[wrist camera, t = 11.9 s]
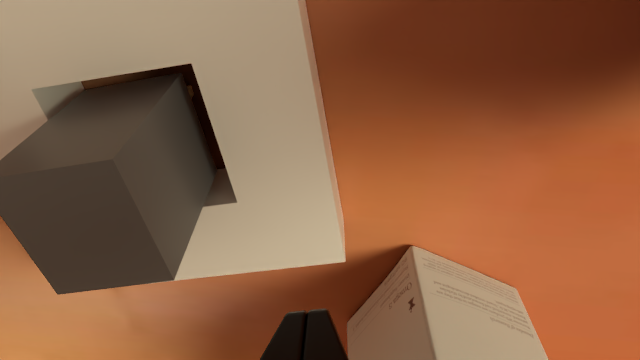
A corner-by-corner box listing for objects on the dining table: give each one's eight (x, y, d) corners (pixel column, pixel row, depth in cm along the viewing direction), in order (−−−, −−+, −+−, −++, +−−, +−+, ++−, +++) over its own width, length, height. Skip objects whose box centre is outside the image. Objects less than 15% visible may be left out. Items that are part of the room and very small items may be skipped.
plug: (191, 60, 18) (112, 159, 12) (224, 153, 21) (173, 280, 14) (101, 76, 19) (-25, 181, 12) (143, 165, 21) (57, 294, 14)
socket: (288, -97, 15) (277, -93, 12) (343, 220, 23) (346, 274, 20) (-78, -25, 17) (-173, -5, 14) (88, 251, 24) (52, 306, 21)
